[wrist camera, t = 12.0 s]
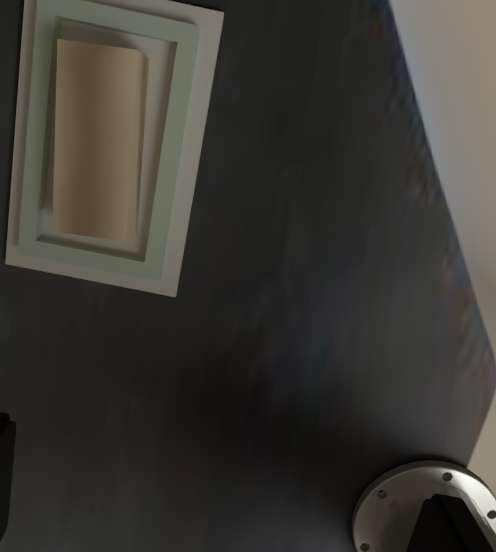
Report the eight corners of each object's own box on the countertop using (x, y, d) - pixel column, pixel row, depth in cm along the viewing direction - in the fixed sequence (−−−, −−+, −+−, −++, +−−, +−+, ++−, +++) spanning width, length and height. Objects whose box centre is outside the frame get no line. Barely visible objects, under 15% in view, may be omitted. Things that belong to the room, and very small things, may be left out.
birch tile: (149, 59, 32) (138, 49, 29) (136, 233, 35) (126, 241, 32) (75, 48, 32) (57, 38, 29) (69, 225, 35) (52, 231, 32)
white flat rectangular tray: (176, 295, 37) (173, 301, 35) (8, 262, 36) (-2, 266, 35) (224, 14, 32) (222, 8, 30) (30, -28, 31) (19, -37, 30)
